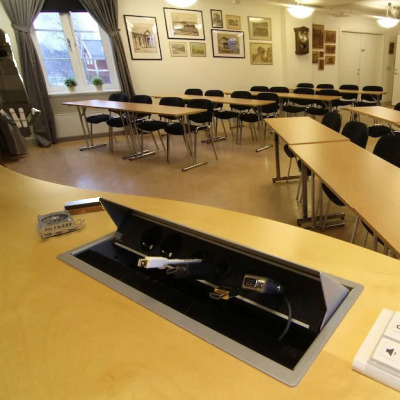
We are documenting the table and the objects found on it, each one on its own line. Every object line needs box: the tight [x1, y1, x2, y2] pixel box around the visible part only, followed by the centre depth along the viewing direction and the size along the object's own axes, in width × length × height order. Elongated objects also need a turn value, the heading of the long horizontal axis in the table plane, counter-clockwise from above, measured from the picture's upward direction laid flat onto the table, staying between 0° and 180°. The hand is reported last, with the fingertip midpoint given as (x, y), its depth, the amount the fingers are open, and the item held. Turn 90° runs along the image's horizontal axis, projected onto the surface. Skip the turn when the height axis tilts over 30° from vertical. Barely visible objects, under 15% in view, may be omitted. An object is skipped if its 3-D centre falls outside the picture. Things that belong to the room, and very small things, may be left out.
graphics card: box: [36, 209, 87, 241], centre depth 111 cm, size 17×4×12 cm
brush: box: [62, 196, 105, 216], centre depth 123 cm, size 4×6×13 cm
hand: (27, 137), depth 120 cm, fingers closed
